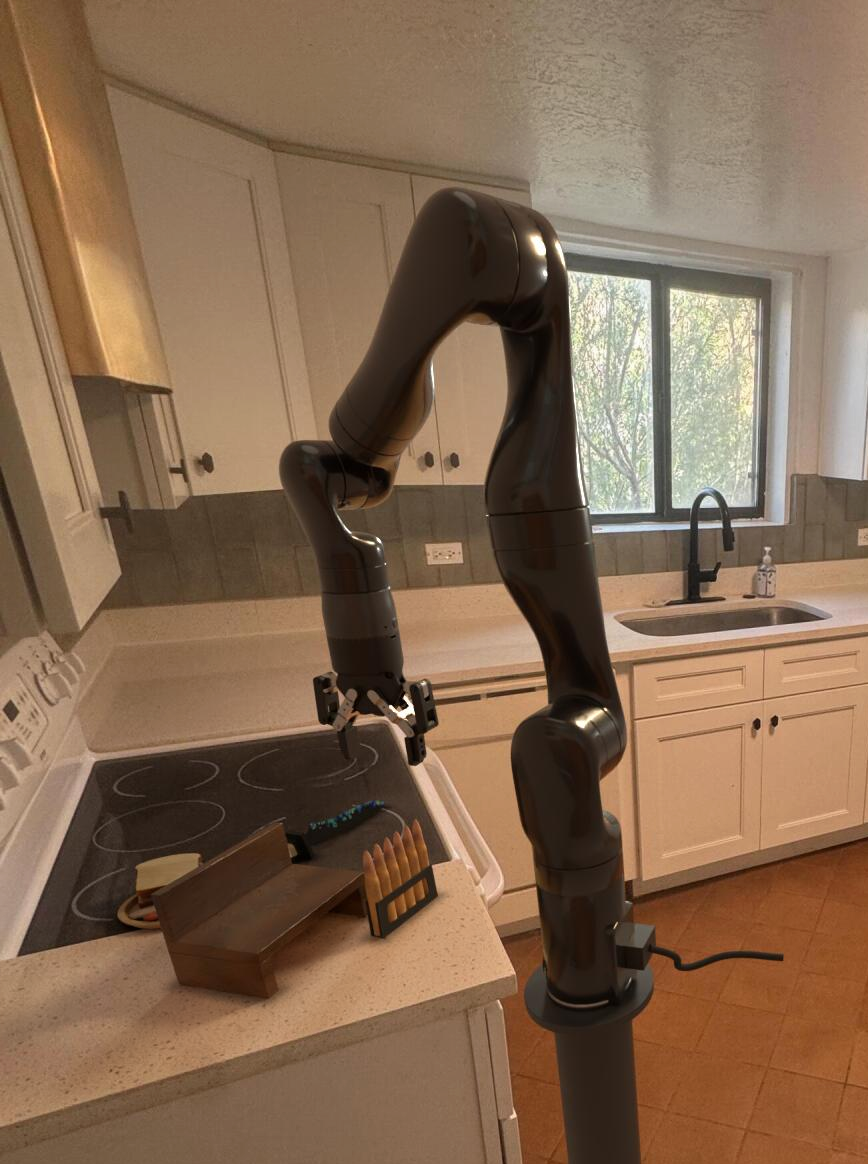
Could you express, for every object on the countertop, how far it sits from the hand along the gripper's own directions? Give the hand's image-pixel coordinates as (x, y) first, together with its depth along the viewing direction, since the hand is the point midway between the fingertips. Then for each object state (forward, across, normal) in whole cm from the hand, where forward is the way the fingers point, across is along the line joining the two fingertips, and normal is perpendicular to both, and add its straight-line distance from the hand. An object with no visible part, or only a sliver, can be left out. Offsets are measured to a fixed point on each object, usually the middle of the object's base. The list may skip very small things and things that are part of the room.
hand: (385, 760), depth 94 cm
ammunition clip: (+22, -1, 0) cm, 23 cm away
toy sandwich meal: (+23, -33, -4) cm, 40 cm away
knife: (+23, -25, +14) cm, 37 cm away
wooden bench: (+22, -12, -9) cm, 27 cm away
